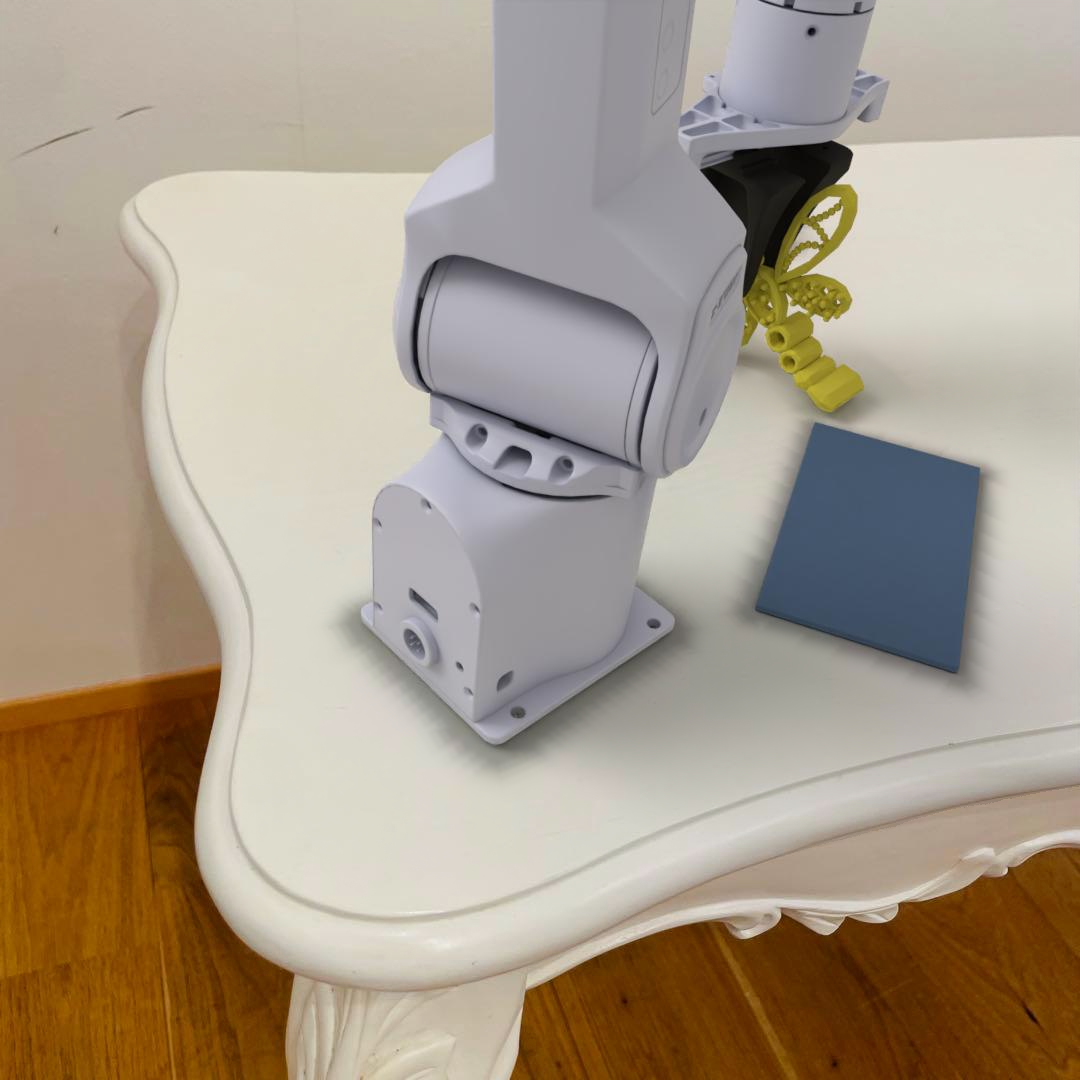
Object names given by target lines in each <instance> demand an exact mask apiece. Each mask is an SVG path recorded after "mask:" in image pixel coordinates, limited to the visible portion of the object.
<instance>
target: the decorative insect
mask: <svg viewBox="0 0 1080 1080" xmlns="http://www.w3.org/2000/svg"><path fill="white" fill-rule="evenodd" d="M829 197H831V198H839V200H838V202H836V203H835V204H833V207H829V208H828V209H827V210H824V211H823V212H822V213H818V214H817V215H810V216H809V217H806V216H807V215H808V213H809V212H810V211H811V209H812V208H813V207H815V206H816V205H817V206H819V204H821V203H822V202H823V201H825V200H826V199H828V198H829ZM858 204H859V196H858V194H857V193H856V191H855V189H854V188H853V186H852V185H851V184H850V183H849V184H844V183H843V184H839V183H838V184H837V183H836V184H833V185H831V186H829V187H827V188H825V189H823V190H822V191H820V192H819V193H817V194H816V195H814V196H812V197H811V198H810V199H809V200H808V201H807V203H806V204H805V205H804V206H803V208H802V209H801V210H800V211H799V212H798V214H797V215H796V216H795V218H794V220H793V222H792V224H791V225H790V227H789V229H788V231H787V233H786V235H785V237H784V239H783V242H782V245H781V249H780V252H779V255H778V259H777V262H776V265H775V271H774V269H773V268H770V267H767V266H764V265H762V264H763V263H764V259H765V258H764V255H763V258H762V261H761V264H760V267H759V270H758V273H757V276H756V278H755V281H754V283H753V285H752V287H751V289H750V290H749V292H748V294H747V296H746V297H744V298H743V305H744V308H745V326H744V332H743V338H742V343H741V347H740V348H742V347H744V346H746V345H748V344H749V342H750V340H751V338H752V336H753V335H754V332H755V331H756V329H757V327H758V325H759V324H760V325H761V326H762V327H763V328H765V329H767V330H766V332H765V334H764V336H765V341H766V345H767V346H768V348H769V349H770V350H771V351H772V352H774V353H776V354H779V357H778V362H779V366H780V368H781V369H782V370H783V372H784V373H786V374H789V375H793V382H794V387H795V388H797V389H799V390H801V391H803V392H806V393H807V395H808V396H809V399H811V401H812V403H814V405H815V407H817V408H819V409H821V410H822V411H823V412H826V413H833V412H834V411H836V410H837V409H839V408H840V407H841V406H843V405H844V404H846V403H847V402H849V401H850V400H851V399H853V398H854V397H856V396H857V395H859V394H860V393H861V392H862V391H863V390H864V388H865V386H866V385H865V383H864V381H863V380H862V378H861V376H860V374H859V373H858V372H856V371H855V370H854V369H852V368H851V367H849V366H848V365H846V364H845V363H842V364H840V365H839V366H838V367H836V366H837V365H836V362H835V360H834V359H833V357H831V356H828V355H826V354H823V352H824V350H823V347H822V343H821V342H820V341H819V340H818V339H817V338H815V337H814V336H813V333H814V327H815V326H814V325H815V324H814V322H813V320H812V317H813V316H815V315H816V316H818V317H821V318H822V321H823V322H824V323H829V322H830V320H831V319H832V318H833V319H835V320H838V319H840V317H841V316H842V315H844V314H845V313H846V312H848V311H849V310H850V309H851V305H852V303H853V297H852V295H851V293H850V292H849V290H848V288H847V286H846V285H844V284H843V283H841V282H840V281H838V279H835V278H833V277H831V276H827V275H823V274H821V273H818V272H817V273H810V274H808V273H809V272H810V271H812V270H813V269H814V268H816V267H817V265H820V264H821V263H822V262H823V261H824V260H825V259H826V258H827V257H829V256H830V255H831V254H832V253H833V252H835V251H836V250H837V249H838V248H839V247H840V246H841V244H842V243H843V242H844V240H845V239H846V237H847V236H848V234H849V232H850V231H851V230H852V228H853V225H854V223H855V220H856V217H857V214H858ZM839 211H841V214H840V217H839V222H838V225H837V227H836V228H835V230H834V232H833V234H832V235H831V237H830V238H829V235H828V234H827V233H826V232H825V228H824V227H821V225H820V223H821V222H823V221H824V220H828V219H829V218H830V217H832V216H835V214H836V212H839ZM801 224H804V226H808V227H811V229H812V230H813V231H816V235H817V236H819V239H820V241H821V242H822V243H819V242H818V241H816V240H814V241H812V242H811V240H805V242H800V243H799V244H798V245H796V246H794V247H793V245H792V243H793V241H794V239H795V237H796V234H797V232H798V230H799V227H800V225H801ZM794 242H795V241H794ZM793 244H794V243H793ZM791 246H792V247H793V249H792V247H791ZM790 248H791V249H792V250H791V249H790ZM806 249H812V250H817V249H818V252H817V253H816V254H814V256H813V257H811V259H810V260H808V261H806V262H804V263H802V264H801V265H799V266H796V267H794V268H793V269H791V270H789V269H790V266H791V265H792V262H793V261H795V258H796V257H798V256H799V254H801V253H802V251H805V250H806ZM761 284H762V285H761ZM826 290H827V292H826ZM788 297H789V298H790V299H791V300H790V302H789V300H788V299H789V298H788ZM838 302H839V303H838ZM769 304H771V306H770V305H769ZM789 305H790V306H791V307H796V306H799V307H800V309H803V310H805V311H807V312H806V313H805V312H804V311H803V312H802V311H800V310H797V311H796V312H794V313H792V314H790V315H788V310H789ZM822 354H823V355H822Z"/></svg>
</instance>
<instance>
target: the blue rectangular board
mask: <svg viewBox="0 0 1080 1080" xmlns="http://www.w3.org/2000/svg"><path fill="white" fill-rule="evenodd" d="M980 473H981V467H979V466H976V465H972V464H969V463H966V462H961V461H957V460H954V459H950V458H947V457H943V456H939V455H935V454H933V453H928V452H925V451H921V450H918V449H914V448H910V447H907V446H904V445H901V444H900V445H899V444H896V443H892V442H889V441H886V440H882V439H878V438H874V437H872V436H867V435H864V434H860V433H857V432H853V431H849V430H846V429H842V428H838V427H835V426H831V425H827V424H825V423H820V422H817V421H815V422H814V423H813V427H812V429H811V434H810V436H809V439H808V441H807V445H806V449H805V452H804V455H803V458H802V461H801V464H800V467H799V470H798V473H797V477H796V480H795V483H794V486H793V489H792V493H791V496H790V499H789V502H788V505H787V507H786V511H785V514H784V517H783V521H782V523H781V526H780V530H779V533H778V535H777V538H776V542H775V546H774V548H773V552H772V554H771V558H770V561H769V564H768V568H767V570H766V573H765V574H766V575H765V576H764V580H763V583H762V586H761V589H760V592H759V595H758V599H757V602H756V605H755V608H754V609H755V611H758V612H762V613H765V614H767V615H771V616H775V617H778V618H781V619H784V620H787V621H790V622H793V623H796V624H799V625H803V626H806V627H808V628H812V629H815V630H818V631H822V632H825V633H828V634H831V635H834V636H837V637H841V638H843V639H847V640H851V641H854V642H857V643H860V644H863V645H866V646H869V647H872V648H876V649H878V650H881V651H885V652H888V653H891V654H895V655H897V656H900V657H903V658H906V659H911V660H913V661H916V662H919V663H923V664H926V665H929V666H932V667H937V668H939V669H941V670H945V671H948V672H950V673H955V674H957V673H958V671H959V669H960V662H961V653H962V643H963V635H964V625H965V617H966V607H967V599H968V597H967V596H968V588H969V587H968V586H969V577H970V569H971V568H970V567H971V558H972V550H973V540H974V539H973V538H974V530H975V520H976V511H977V502H978V493H979V482H980Z"/></svg>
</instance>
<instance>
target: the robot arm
mask: <svg viewBox="0 0 1080 1080" xmlns="http://www.w3.org/2000/svg"><path fill="white" fill-rule="evenodd" d="M876 3H877V0H736V1H735V5H734V11H733V15H732V21H731V27H730V30H729V31H730V32H729V37H728V42H727V47H726V52H725V56H724V62H723V67H722V70H717V71H714V72H710V73H706V74H705V75H704V76H703V80H702V81H703V82H702V86H701V89H702V90H701V91H702V92H704V93H705V94H704V95H703V96H702V97H700V98H699V99H698V100H696V101H695V102H694V103H693V104H692V105H689V107H688V108H686V109H685V110H684V111H682V107H683V99H684V94H685V93H684V92H685V85H686V79H687V69H688V62H689V54H690V46H691V39H692V31H693V23H694V16H695V9H696V0H491V66H492V67H491V68H492V69H491V70H492V71H491V72H492V73H491V74H492V76H491V78H492V79H491V80H492V81H491V83H492V85H491V86H492V90H491V92H492V100H491V101H492V132H491V133H489V134H486V135H485V136H483V137H481V138H479V139H477V140H476V141H474V142H472V143H470V144H467V145H466V146H464V147H463V148H460V149H459V150H457V151H456V152H454V153H453V154H452V155H450V156H449V157H448V158H447V159H446V160H444V161H442V162H441V164H439V166H437V168H436V169H435V170H434V171H433V172H432V173H431V174H430V175H429V176H428V177H427V179H426V180H425V181H424V182H423V184H422V185H421V186H420V189H418V192H417V193H416V194H415V196H414V198H413V199H412V201H411V203H410V204H409V206H408V207H407V209H406V211H405V212H404V214H403V228H404V246H403V260H402V269H401V275H400V277H399V281H398V285H397V288H396V293H395V297H394V303H393V310H392V340H393V346H394V350H395V353H396V358H397V362H398V367H399V369H400V372H401V375H402V376H403V378H404V380H405V381H406V382H407V383H408V384H409V386H411V387H412V388H414V389H416V390H417V391H420V392H423V393H426V394H429V417H428V418H429V421H428V423H429V425H430V426H431V427H434V428H436V429H437V430H439V431H441V434H440V435H439V437H438V438H437V439H436V440H435V442H434V443H433V444H432V446H431V447H430V448H429V449H428V451H426V453H425V454H424V455H422V456H421V457H420V459H418V460H417V461H416V462H415V463H414V464H413V465H411V466H410V467H408V468H407V469H406V470H405V471H404V472H402V473H401V474H399V475H398V476H396V477H394V478H393V479H392V480H390V481H389V482H387V483H385V485H383V486H382V487H381V488H380V490H379V491H378V492H377V494H376V496H375V498H374V500H373V505H372V510H371V552H372V553H371V554H372V559H371V560H372V561H371V563H372V564H371V565H372V601H369V602H367V603H366V604H365V605H364V606H362V607H361V609H360V620H361V622H362V623H363V624H364V625H365V626H366V627H367V628H368V629H369V630H370V631H371V632H372V633H373V634H374V635H375V636H376V637H377V638H378V639H379V640H380V641H381V642H382V643H383V644H385V646H386V647H387V648H389V650H390V651H392V652H393V653H394V654H395V655H396V656H397V658H399V660H401V661H402V662H403V663H404V664H405V665H406V666H407V667H408V668H409V670H411V671H412V672H413V673H414V674H416V676H417V677H419V678H420V679H421V680H422V681H423V682H424V683H425V684H426V685H427V686H428V687H429V688H430V689H431V690H432V691H433V693H435V694H436V695H437V696H438V697H439V698H440V699H441V700H442V701H443V702H444V703H445V704H446V705H447V706H448V707H449V708H450V709H452V711H453V712H455V713H456V714H457V716H459V717H460V718H461V719H462V720H463V721H464V722H465V723H466V724H467V725H468V726H469V727H470V728H471V729H472V730H473V731H474V732H475V733H476V734H477V735H478V736H479V737H480V738H481V739H482V740H483V741H485V742H486V743H488V744H490V745H502V744H504V743H506V742H508V741H509V740H510V739H512V738H514V737H515V736H517V735H518V734H519V733H521V732H522V731H524V730H526V729H527V728H528V727H531V725H533V724H535V723H536V722H537V721H539V720H541V719H542V718H544V717H545V716H547V715H548V714H550V713H551V712H552V711H554V710H556V709H557V708H558V707H560V706H562V705H563V704H564V703H566V702H567V701H569V700H571V699H572V698H573V697H575V696H577V695H578V694H579V693H581V692H582V691H584V690H585V689H587V688H588V687H589V686H591V685H593V684H594V683H596V682H597V681H599V680H601V679H602V678H603V677H605V676H607V675H608V674H610V673H611V672H612V671H614V670H615V669H617V668H619V666H621V665H623V664H624V663H626V662H628V661H629V660H631V659H632V658H633V657H635V656H637V654H639V653H641V652H643V651H644V650H645V649H647V648H648V647H650V646H651V645H653V644H654V643H656V642H657V641H659V640H660V639H662V638H663V637H665V636H666V635H668V634H669V633H671V632H672V631H673V630H674V627H675V622H676V617H675V616H674V615H673V614H672V612H671V611H669V610H668V609H666V607H664V606H663V605H661V604H660V603H659V602H657V601H656V600H655V599H654V598H652V597H651V596H650V595H648V594H647V593H646V592H644V591H643V590H642V589H641V588H640V587H639V586H637V585H636V582H637V577H638V573H639V570H640V569H639V568H640V564H641V559H642V554H643V549H644V544H645V539H646V534H647V530H648V524H649V520H650V515H651V511H652V506H653V500H654V496H655V492H656V485H657V481H658V479H663V480H665V479H666V478H669V477H670V476H672V475H673V474H674V473H676V472H679V470H681V469H684V468H686V467H688V466H689V465H690V464H691V463H692V462H693V461H694V460H695V458H696V457H697V456H698V454H699V453H700V451H701V450H702V448H703V446H704V444H705V443H706V441H707V438H708V437H709V434H710V433H711V431H712V429H713V426H714V424H715V423H716V420H717V418H718V416H719V413H720V411H721V408H722V406H723V404H724V401H725V398H726V396H727V393H728V390H729V387H730V384H731V381H732V378H733V375H734V372H735V368H736V366H737V363H738V358H739V354H740V352H741V348H742V347H741V343H742V338H743V332H744V326H745V325H746V323H745V308H744V305H743V298H744V297H746V296H747V294H748V292H749V290H750V289H751V287H752V285H753V283H754V281H755V278H756V276H757V273H758V270H759V267H760V264H761V261H762V258H763V255H764V258H765V259H764V263H763V264H762V265H764V266H767V267H770V268H773V269H774V271H775V265H776V262H777V259H778V255H779V252H780V249H781V245H782V242H783V239H784V237H785V235H786V233H787V231H788V229H789V227H790V225H791V224H792V222H793V220H794V218H795V216H796V215H797V214H798V212H799V211H800V210H801V209H802V208H803V206H804V205H805V204H806V203H807V201H808V200H809V199H810V198H811V197H812V196H814V195H816V194H817V193H819V192H820V191H822V190H823V189H825V188H827V187H829V186H831V185H833V184H837V183H838V182H839V181H840V180H841V179H842V178H843V177H844V176H845V175H846V174H847V173H848V172H849V170H850V168H851V165H852V162H853V158H854V152H853V151H852V149H851V148H849V147H848V146H847V145H844V144H842V143H840V142H837V141H835V140H836V139H838V138H840V137H841V136H842V135H843V134H844V133H845V132H846V131H847V130H848V129H849V127H850V126H851V125H852V124H854V122H855V121H856V120H858V121H860V122H862V123H871V122H875V121H878V120H880V117H881V113H882V110H883V106H884V104H885V100H886V96H887V92H888V90H889V86H890V83H891V80H890V79H889V78H886V77H883V76H881V75H878V74H876V73H873V72H871V71H868V70H865V69H863V68H860V67H859V66H860V62H861V58H862V55H863V52H864V47H865V43H866V40H867V36H868V32H869V28H870V25H871V21H872V17H873V14H874V11H875V7H876ZM817 207H818V205H816V206H815V207H813V208H812V209H811V211H810V212H809V213H808V215H807V216H806V217H809V218H810V217H811V216H812V214H813V212H814V211H815V209H816V208H817ZM804 226H805V225H804V224H801V225H800V227H799V230H798V232H797V234H796V237H795V239H794V241H793V243H792V246H791V248H790V250H791V249H792V247H793V245H794V244H795V241H796V239H797V238H798V236H799V234H800V233H801V231H802V229H803V228H804ZM761 285H762V284H761ZM653 627H654V628H653ZM513 715H520V716H521V717H520V718H519V717H515V716H513Z"/></svg>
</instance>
